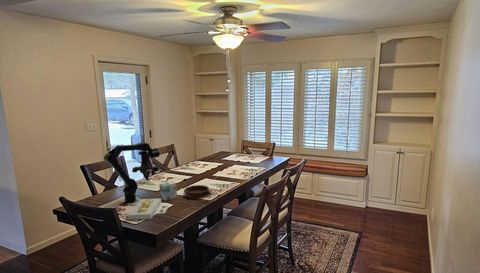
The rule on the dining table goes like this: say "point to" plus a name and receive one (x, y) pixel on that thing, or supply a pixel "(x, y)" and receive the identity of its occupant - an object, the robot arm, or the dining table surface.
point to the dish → (197, 191)
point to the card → (162, 210)
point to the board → (148, 213)
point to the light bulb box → (168, 190)
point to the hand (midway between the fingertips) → (147, 180)
